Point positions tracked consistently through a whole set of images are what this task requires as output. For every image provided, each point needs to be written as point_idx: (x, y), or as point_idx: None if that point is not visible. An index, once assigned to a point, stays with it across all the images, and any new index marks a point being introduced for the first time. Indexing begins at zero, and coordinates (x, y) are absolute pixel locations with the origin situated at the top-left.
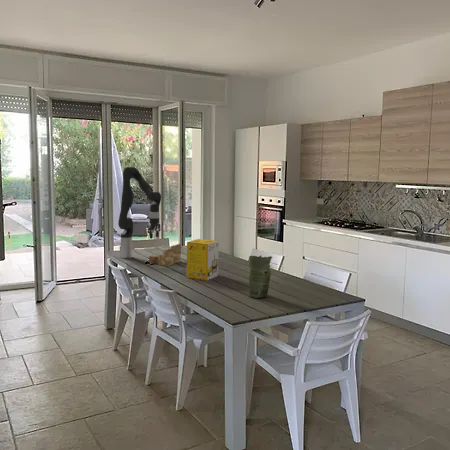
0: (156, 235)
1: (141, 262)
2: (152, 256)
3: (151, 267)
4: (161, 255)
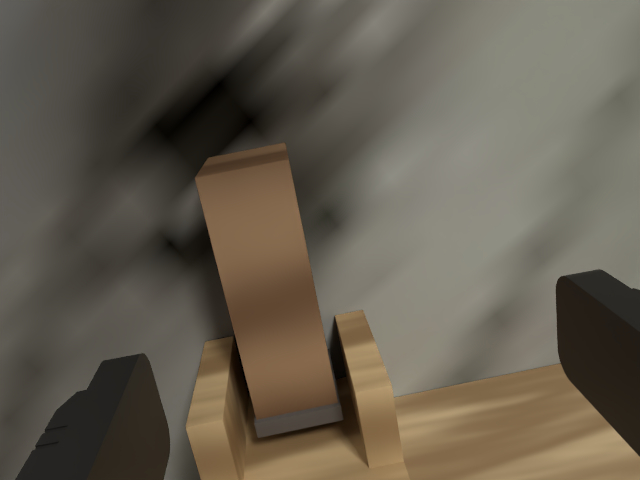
0: (587, 325)
1: (157, 18)
2: (223, 231)
3: (32, 373)
4: (202, 474)
